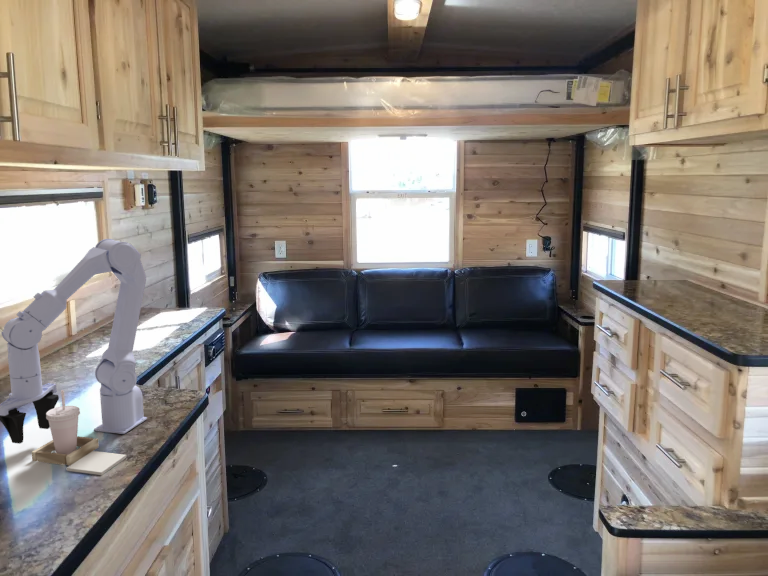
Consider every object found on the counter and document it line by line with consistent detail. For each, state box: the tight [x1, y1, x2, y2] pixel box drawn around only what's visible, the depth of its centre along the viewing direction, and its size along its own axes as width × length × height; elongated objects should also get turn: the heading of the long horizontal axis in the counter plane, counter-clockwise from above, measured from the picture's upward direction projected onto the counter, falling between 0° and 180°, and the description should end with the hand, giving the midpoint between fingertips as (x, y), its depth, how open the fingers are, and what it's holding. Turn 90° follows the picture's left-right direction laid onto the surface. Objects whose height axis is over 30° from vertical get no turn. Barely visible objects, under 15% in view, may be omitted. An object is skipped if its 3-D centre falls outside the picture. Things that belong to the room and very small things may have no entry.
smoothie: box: [46, 389, 81, 455], centre depth 130 cm, size 6×6×14 cm
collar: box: [31, 435, 100, 467], centre depth 131 cm, size 9×9×2 cm
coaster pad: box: [66, 450, 127, 476], centre depth 127 cm, size 8×8×1 cm
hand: (31, 435), depth 133 cm, fingers open, 7 cm apart
